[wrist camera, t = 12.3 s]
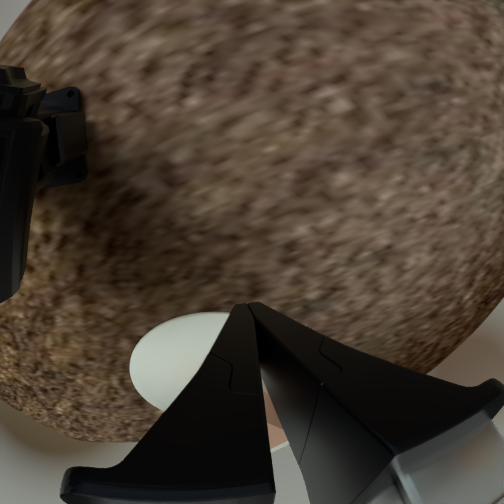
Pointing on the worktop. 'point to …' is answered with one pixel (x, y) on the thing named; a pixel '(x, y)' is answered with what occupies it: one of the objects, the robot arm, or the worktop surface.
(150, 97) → the worktop surface
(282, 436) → the pink white tall block
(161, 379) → the cream mat
